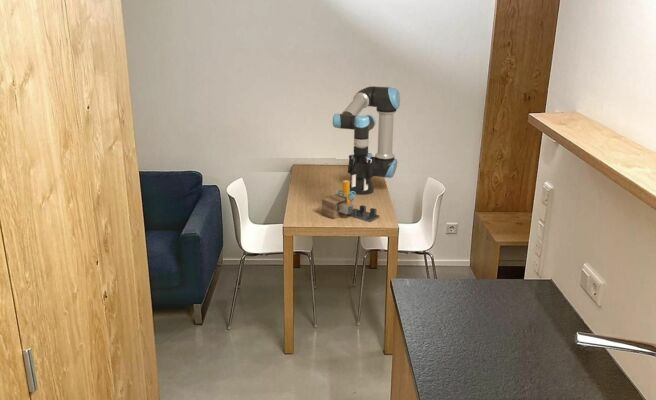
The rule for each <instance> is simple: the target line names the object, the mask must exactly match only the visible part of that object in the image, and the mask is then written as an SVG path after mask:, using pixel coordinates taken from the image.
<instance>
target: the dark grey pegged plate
mask: <svg viewBox="0 0 656 400" xmlns="http://www.w3.org/2000/svg"><path fill="white" fill-rule="evenodd" d="M369 210H370V211H367V206H366V205H363V204H362V205H359V209H358V208H353V210H352V213H350V214H345V215H346V216H348V217H351V218H355V219H358V220H361V221H365V222H368V223H372V222H373V221H376V220H377V219H380V215H379V214H377V208H373V207H371V208H370V209H369Z"/></svg>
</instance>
